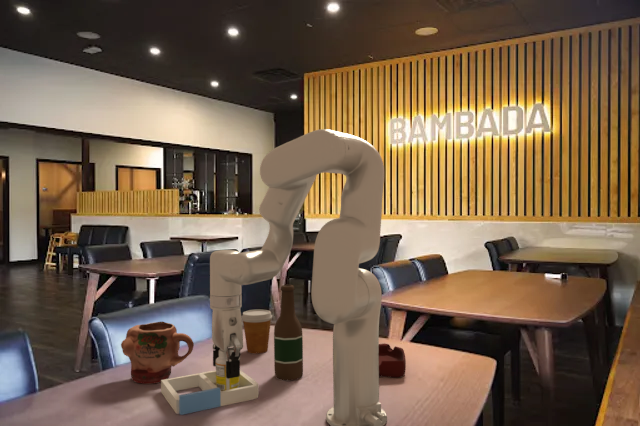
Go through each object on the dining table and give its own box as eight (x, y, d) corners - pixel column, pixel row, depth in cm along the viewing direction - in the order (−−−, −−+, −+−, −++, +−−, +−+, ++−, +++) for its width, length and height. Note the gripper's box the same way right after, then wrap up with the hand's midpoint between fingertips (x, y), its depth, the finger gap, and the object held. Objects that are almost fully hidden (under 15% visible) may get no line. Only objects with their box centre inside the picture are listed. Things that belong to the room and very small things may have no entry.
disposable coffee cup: (238, 349, 159) (237, 311, 159) (267, 345, 163) (266, 308, 163) (247, 357, 151) (246, 317, 150) (277, 352, 155) (276, 313, 154)
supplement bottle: (240, 386, 126) (239, 346, 126) (238, 395, 120) (237, 352, 120) (217, 387, 125) (216, 346, 125) (214, 396, 120) (214, 353, 120)
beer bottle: (299, 382, 129) (298, 288, 128) (270, 380, 130) (268, 287, 130) (306, 372, 136) (305, 283, 136) (278, 370, 138) (277, 282, 138)
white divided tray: (260, 397, 119) (259, 380, 118) (177, 415, 109) (177, 397, 109) (236, 378, 132) (235, 362, 132) (161, 392, 123) (160, 375, 123)
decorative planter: (202, 370, 139) (201, 320, 138) (187, 386, 127) (186, 331, 126) (131, 370, 140) (130, 320, 140) (110, 386, 128) (109, 331, 128)
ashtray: (380, 388, 125) (379, 367, 125) (336, 371, 137) (336, 353, 137) (426, 372, 136) (425, 353, 136) (381, 358, 149) (381, 341, 148)
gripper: (253, 306, 117) (253, 379, 117) (228, 294, 132) (228, 359, 132) (222, 309, 113) (222, 385, 114) (200, 296, 128) (200, 363, 129)
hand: (226, 371), depth 123 cm, fingers open, 9 cm apart
